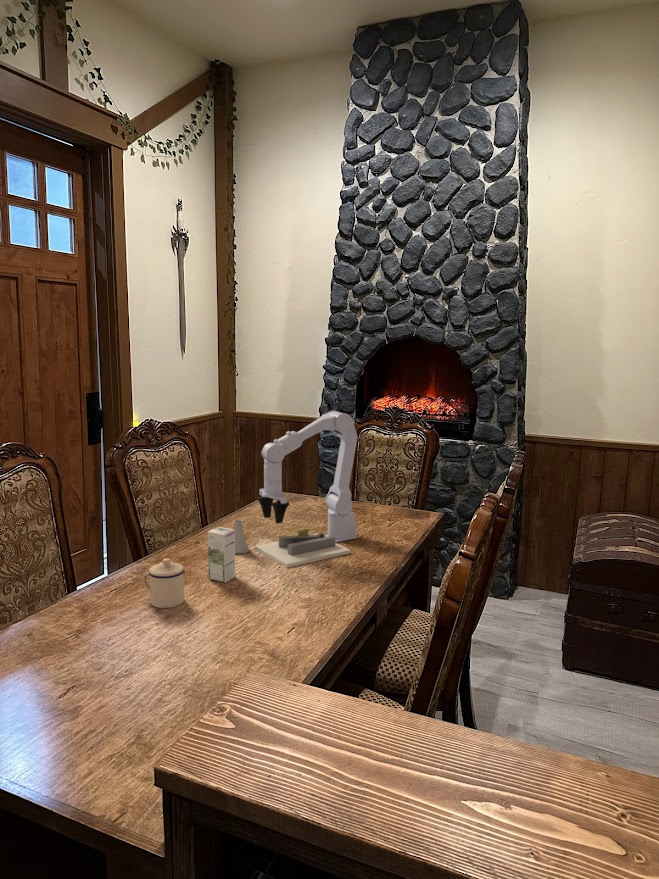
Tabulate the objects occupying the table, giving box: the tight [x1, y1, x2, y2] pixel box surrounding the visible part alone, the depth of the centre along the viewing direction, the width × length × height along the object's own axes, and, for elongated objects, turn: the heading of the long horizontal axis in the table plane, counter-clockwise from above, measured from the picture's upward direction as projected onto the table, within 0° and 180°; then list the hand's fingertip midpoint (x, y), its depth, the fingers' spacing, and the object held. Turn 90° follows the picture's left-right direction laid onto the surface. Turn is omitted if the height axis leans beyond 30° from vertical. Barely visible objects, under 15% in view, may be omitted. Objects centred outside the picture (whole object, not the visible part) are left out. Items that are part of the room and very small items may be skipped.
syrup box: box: [207, 526, 236, 584], centre depth 184 cm, size 6×6×14 cm
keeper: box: [293, 526, 309, 536], centre depth 214 cm, size 4×2×4 cm, turn 125°
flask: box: [232, 519, 250, 555], centre depth 208 cm, size 7×7×10 cm
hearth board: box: [254, 533, 351, 569], centre depth 208 cm, size 24×20×4 cm
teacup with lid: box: [141, 558, 186, 609], centre depth 168 cm, size 12×9×12 cm
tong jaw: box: [277, 532, 326, 547], centre depth 211 cm, size 15×2×4 cm, turn 100°
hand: (273, 520), depth 212 cm, fingers open, 7 cm apart
